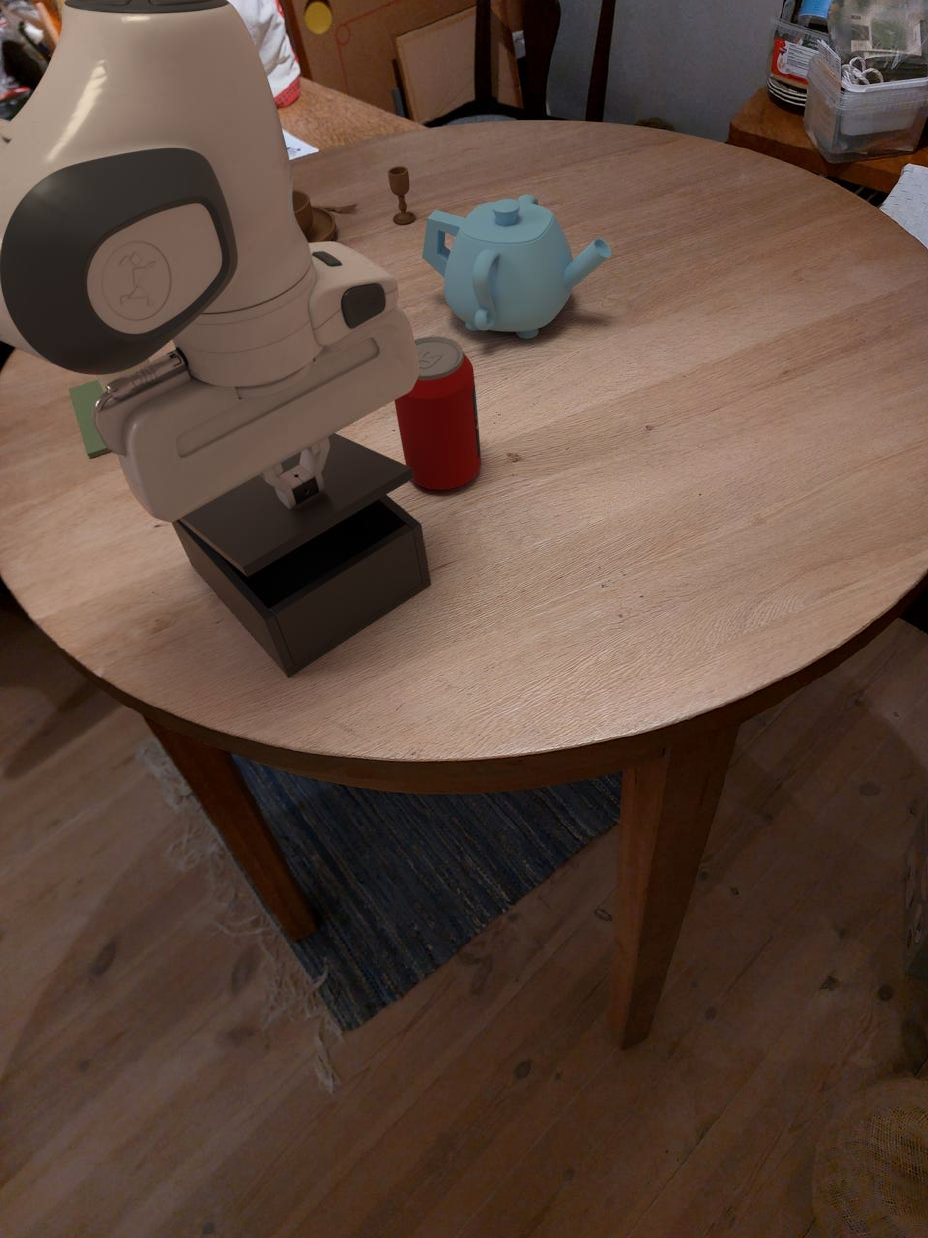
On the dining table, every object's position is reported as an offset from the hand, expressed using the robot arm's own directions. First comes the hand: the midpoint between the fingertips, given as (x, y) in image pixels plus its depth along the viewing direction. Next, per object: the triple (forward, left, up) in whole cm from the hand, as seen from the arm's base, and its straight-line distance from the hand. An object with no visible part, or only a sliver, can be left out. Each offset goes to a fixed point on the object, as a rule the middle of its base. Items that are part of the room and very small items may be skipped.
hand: (302, 495), depth 61 cm
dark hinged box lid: (-1, +4, -2) cm, 4 cm away
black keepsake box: (-1, +4, -11) cm, 12 cm away
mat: (-9, +35, -11) cm, 38 cm away
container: (-9, +35, -11) cm, 37 cm away
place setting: (+18, +56, -12) cm, 60 cm away
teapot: (+31, +29, -12) cm, 44 cm away
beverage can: (+14, +10, -12) cm, 21 cm away
